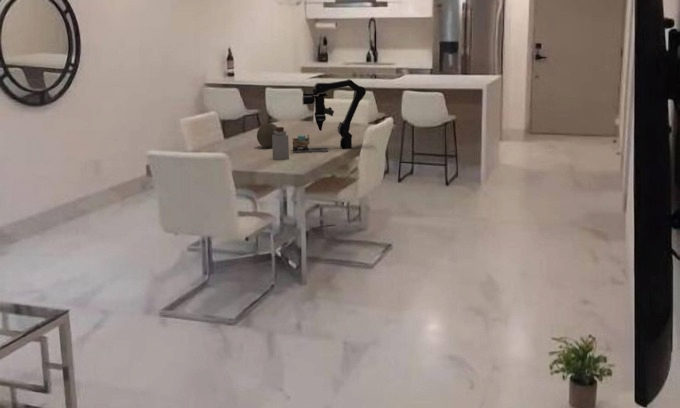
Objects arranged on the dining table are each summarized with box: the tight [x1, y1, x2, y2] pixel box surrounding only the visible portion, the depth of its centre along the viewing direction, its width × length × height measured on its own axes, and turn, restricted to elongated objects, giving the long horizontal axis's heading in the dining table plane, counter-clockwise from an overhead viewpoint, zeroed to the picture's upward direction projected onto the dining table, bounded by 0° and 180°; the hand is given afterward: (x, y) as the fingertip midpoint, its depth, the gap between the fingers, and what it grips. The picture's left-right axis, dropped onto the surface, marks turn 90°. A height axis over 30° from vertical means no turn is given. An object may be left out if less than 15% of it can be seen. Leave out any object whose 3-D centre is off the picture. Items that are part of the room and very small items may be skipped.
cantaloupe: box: [256, 123, 278, 149], centre depth 467 cm, size 14×14×15 cm
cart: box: [292, 134, 311, 151], centre depth 453 cm, size 10×12×8 cm
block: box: [297, 134, 306, 141], centre depth 453 cm, size 4×4×4 cm
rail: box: [292, 147, 329, 154], centre depth 454 cm, size 21×11×1 cm, turn 94°
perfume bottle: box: [271, 126, 290, 161], centre depth 430 cm, size 7×7×18 cm
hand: (320, 129), depth 458 cm, fingers open, 9 cm apart
